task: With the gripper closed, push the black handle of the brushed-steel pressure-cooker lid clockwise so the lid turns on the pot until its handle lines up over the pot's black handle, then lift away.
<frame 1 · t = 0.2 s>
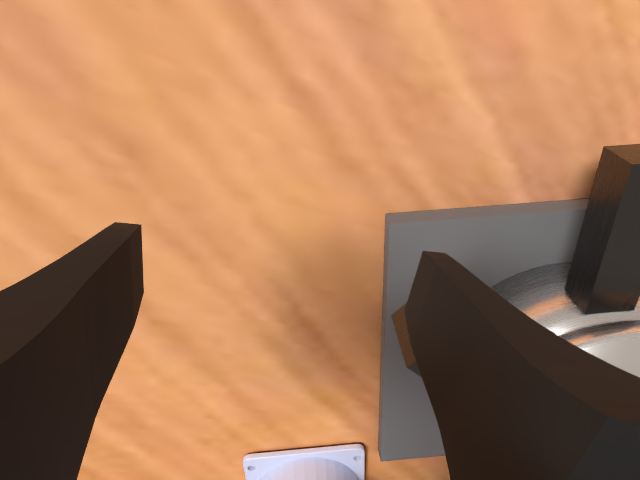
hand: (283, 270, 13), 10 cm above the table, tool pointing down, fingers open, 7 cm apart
cooker pot: (576, 329, 24), on the charcoal trivet mat, point 3 cm above the table
cooker lid: (568, 422, 21), point 8 cm above the table, hinge at 45.0°
charcoal trivet mat: (533, 337, 29), on the table
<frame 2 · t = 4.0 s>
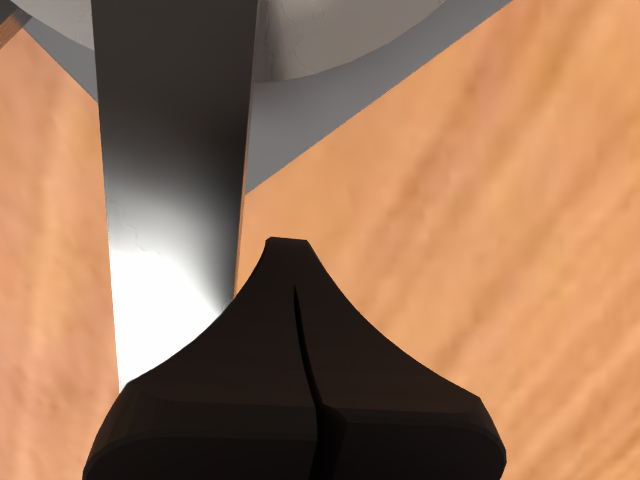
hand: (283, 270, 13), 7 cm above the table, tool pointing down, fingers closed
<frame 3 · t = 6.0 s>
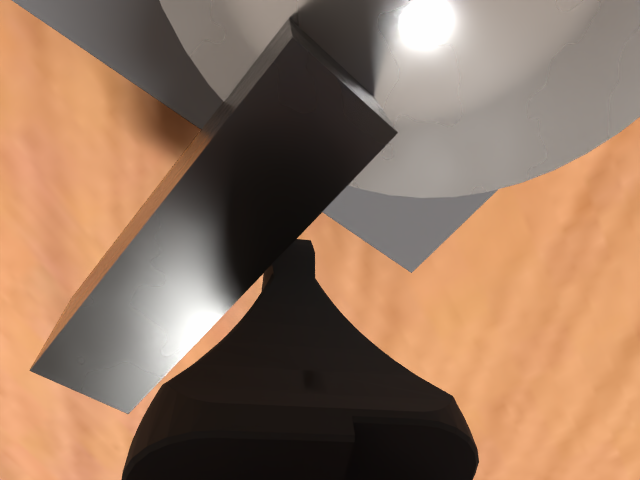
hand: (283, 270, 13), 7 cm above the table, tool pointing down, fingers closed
cooker lid: (360, 39, 9), point 7 cm above the table, hinge at -2.5°, touching gripper
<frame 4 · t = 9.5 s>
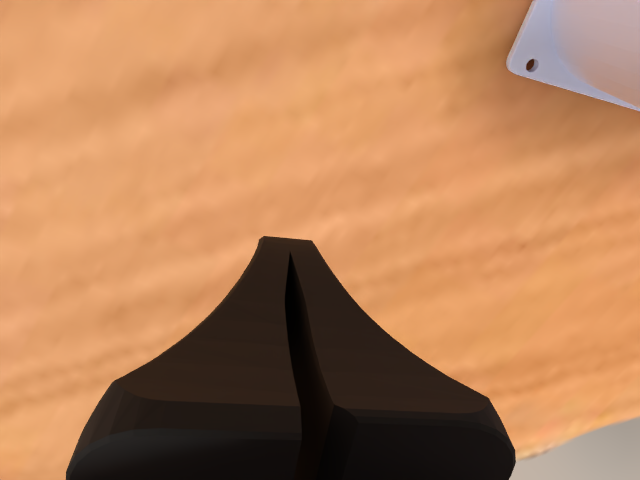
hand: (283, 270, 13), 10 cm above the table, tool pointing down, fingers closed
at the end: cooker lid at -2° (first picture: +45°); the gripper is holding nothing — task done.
